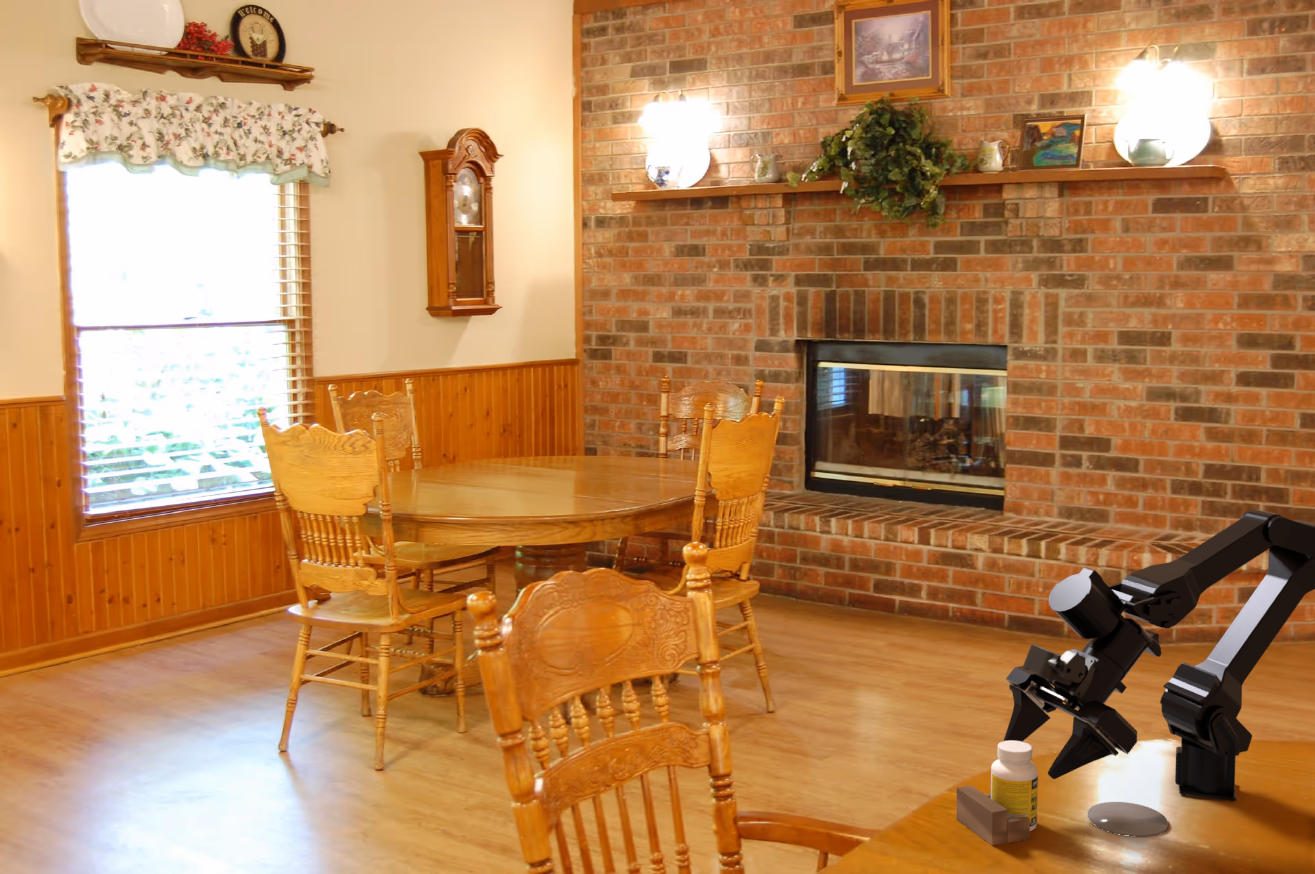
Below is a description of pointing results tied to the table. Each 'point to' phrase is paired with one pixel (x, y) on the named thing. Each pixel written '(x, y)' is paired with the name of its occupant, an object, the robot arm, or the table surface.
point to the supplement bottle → (1015, 781)
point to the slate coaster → (1127, 819)
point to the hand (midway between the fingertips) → (1027, 762)
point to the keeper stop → (989, 817)
